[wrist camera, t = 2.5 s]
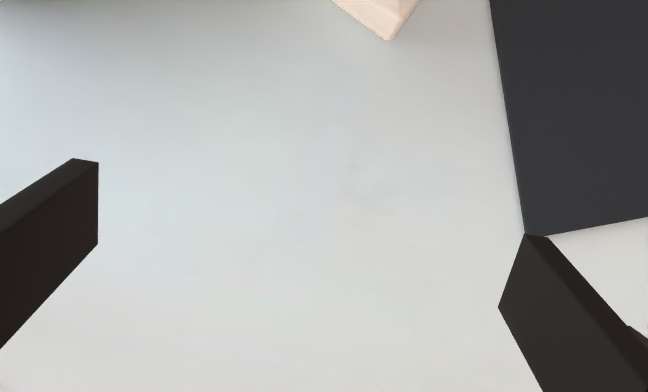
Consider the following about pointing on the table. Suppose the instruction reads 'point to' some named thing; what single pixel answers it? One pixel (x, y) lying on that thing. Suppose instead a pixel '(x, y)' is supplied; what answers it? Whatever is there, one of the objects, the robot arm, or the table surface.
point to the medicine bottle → (380, 14)
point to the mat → (576, 109)
